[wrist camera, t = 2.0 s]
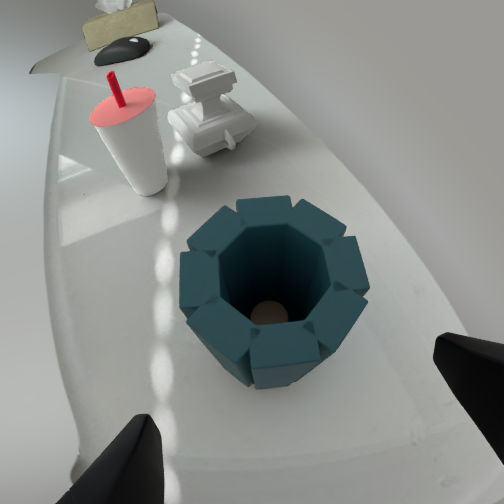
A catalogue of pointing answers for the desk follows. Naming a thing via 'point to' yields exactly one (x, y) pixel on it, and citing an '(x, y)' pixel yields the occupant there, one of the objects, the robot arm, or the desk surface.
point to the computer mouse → (122, 50)
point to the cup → (133, 135)
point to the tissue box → (119, 21)
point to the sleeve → (272, 287)
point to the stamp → (209, 109)
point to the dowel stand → (268, 313)
